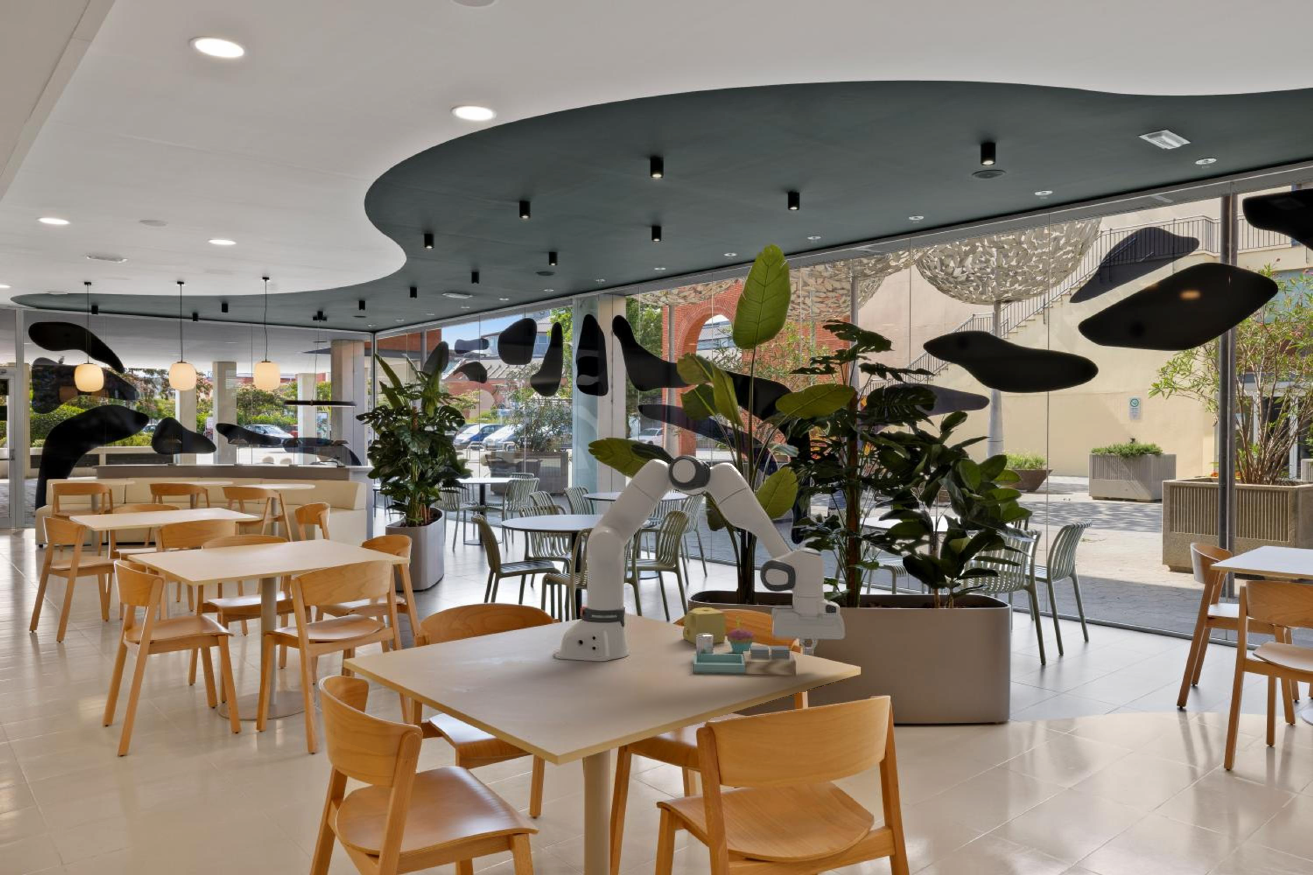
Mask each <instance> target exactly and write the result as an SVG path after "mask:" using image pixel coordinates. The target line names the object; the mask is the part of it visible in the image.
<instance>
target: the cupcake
mask: <svg viewBox="0 0 1313 875" xmlns="http://www.w3.org/2000/svg"><path fill="white" fill-rule="evenodd" d="M736 627H737V628H735V629H732V630H730V631H729V632H728V633H727V634H726V637H727V638H726V639H727V642H729V644H730V646H731V649H732V652H733V654H743V651H750V645H752V644H753V643H754V642H755V639H756V638H755V634H754V633H753V632H751V631H750V630H749V629H746V628H740V618H739V616H738V614H736Z"/></svg>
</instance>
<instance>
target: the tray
mask: <svg viewBox="0 0 1313 875" xmlns="http://www.w3.org/2000/svg"><path fill="white" fill-rule="evenodd" d="M693 674H727V675H729V674H730V675H733V674H734V675H746V674H745V661H744V656H743V654H737V653H713V654H696V653H694V656H693Z"/></svg>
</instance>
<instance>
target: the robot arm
mask: <svg viewBox="0 0 1313 875" xmlns="http://www.w3.org/2000/svg"><path fill="white" fill-rule="evenodd" d="M673 490H674V491H676V492H679V493H681V494H684V495H687V496H691V497H697V496H700V495H703V494H705V492H707V493H708V494H709V495H710V496H711V497H712V498H713V500H714V502H715V504H716V506H717V508H718V509H719V511H720V513H721V514H722V515H723V517H724V518H725V519H726V520H727V521H728V523H729V524H730V525H732V526H733V527H736V528H739V529H741V530H742V529H743V530H746V531H747V532H749V533H751V534H752V535H754V536H755V537H756V538H757V539H758V540H759V542H760V543H761V544H762V546H763V547H764V549H765V551H767V554H768V555H769V556H770V558H771V559H768V560H767V561H765V562H764V564H762V566H761V569H760V572H759V577H760V581H761V583H762V585H763V586H764V588H765V589H767V590H768V591H770V592H775V593H780V592H784V591H791V592H792V604H785V605H783V604H777V605H776V606H774V607H773V608H772V609H771V619H772V630H771V634H772V636H773V637H774V638H775V639H786V640H787V639H788V640H789V639H797V640H798V642H799V644H800V646H801V647H802V655H809V656H811V655H813V656H814V653H815V651H814V650H815V648H816V647H817V644H818V641H819V640H843V639H844V638H845V636H846V634H845V633H846V632H845V631H846V630H845V629H846V628H845V623H844V618H843V616H842V615H841V606H840V605H839V604H838V603H837V602H835V601H831V600H828V599H825V593H824V588H823V587H824V583H825V566H824V559H823V554H822V553H821V552H820V551H818V550H817V549H815V548H811V547H804V546H799V547H796V548H795V549H792V548H791V546H790V545H789V543H788V542H787V541H786V539H785V537H784V536H783V535H782V533H781V532H780V531H779V529H778V528H777V525H775V523H774V521H773V520H772V519H771V518H770V516H769V515H768V514H767V512H766V510H765V509H764V508H763V506H762V505H761V503H760V502H759V501H758V498H757V496H756V495H755V493H754V492H753V490H752V488H751V487H750V485H749V484H748V482H747V480H746V478H744V476H743V475H742V474H741V473H740V471H739V470H738V468H736V467H735V466H734V465H733V464H732V463H730V462H720V463H717V464H714V465H713V466H710V465H709V464H708V463H706V462H705V461H703V460H701V459H699V458H697V456H695V455H694V456H693V455H690V454H683V455H679V456H677V457H675V458H674V459H673V460H672V461H671V463H667V462H666V461H664V460H663V459H659V458H653V459H650V460H649V461H647V463H645V464H644V465H643V466H642V467H641V468H640V469H639V470H638V471H637V472H636V473H635V475H634V476H633V477H632V478H631V479H630V481H629V482H628V484H627V485H626V486H625V487H624V489H623V490H622V491H621V493H620V494H619V495H618V497H617V498H616V499H615V500H614V502H613V503H612V505H610V507H609V508H608V509H607V511H606V512H605V513H604V515H603V516H602V517H601V518H600V520H599V521H598V522H597V523H596V525H595V526H594V527H593V528H592V530H591V531H590V533H589V535H588V538H587V541H586V576H587V577H586V580H587V584H586V587H587V588H586V589H587V590H586V592H587V593H586V594H587V595H586V600H587V602H586V603H587V604H586V605H583V606H582V607H581V608H580V616H579V617H580V620H579V621H577V622H576V623H574V625H572V626H571V627H570V628H568V629H567V630H566V631H565V632H564V634H563V636H562V639H561V644H560V646H558V647H557V648H555V649H554V651H553V657H554V658H556V659H560V660H576V661H587V662H588V661H591V662H593V661H594V662H607V661H609V660H614V659H621V658H625V657H627V656H628V655H629V654H630V652H629V650H628V649H629V648H628V645H627V639H626V633H625V632H626V630H625V626H626V614H627V612H626V607H625V604H624V602H625V600H624V599H625V596H624V593H625V592H624V590H625V576H624V575H625V546H626V545H627V544H628V543H629V542H630V540H631V539H632V538H633V537H634V535H635V534H636V533H637V532H638V531H639V530H640V529H641V528H642V526H644V524H645V522H646V521H647V520H648V518H649V517H650V516H651V515H652V513H653V512H654V511H655V509H656V508H657V507H658V506H659V504H660V503H661V501H662V500H663V498H664V497H665V496H666V495H667V494H669V492H670V491H673ZM805 640H811V642H812V644H811V646H805V644H804V643H805Z"/></svg>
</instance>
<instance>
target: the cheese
mask: <svg viewBox="0 0 1313 875" xmlns="http://www.w3.org/2000/svg"><path fill="white" fill-rule="evenodd" d="M726 620H727V618H726V613H725V612H724V611H723V610H722V611H721V610H719V609H716V608H713V607H710V606H709V607H705V606H704V607H703V606H702V607H695V608H693V609H692V610H689V611H687V613H686V615H684V617H683V624H684V625H683V626H684V627H683V629H682V637H683V640H685V641H688V642H690V643H693V644H694V645H696V635H697V634H700V633H708V634H713V644H717V643H725V640H726V636H727V634H726V633H727V621H726Z"/></svg>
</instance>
